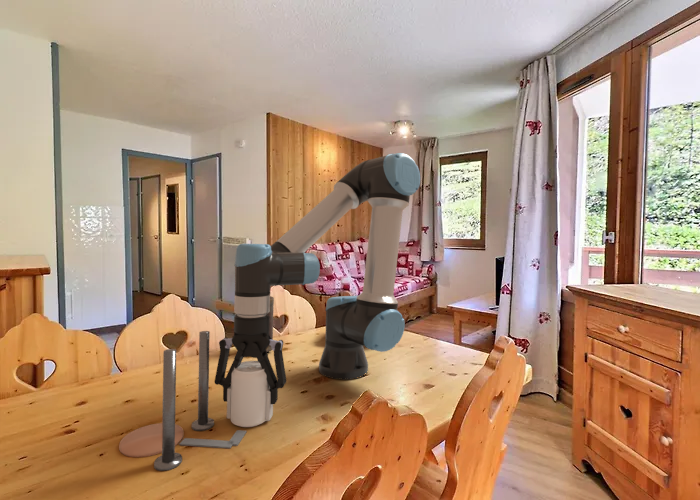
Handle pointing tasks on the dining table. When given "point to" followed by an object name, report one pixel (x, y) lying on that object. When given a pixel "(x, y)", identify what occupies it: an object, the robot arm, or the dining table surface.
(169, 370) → the gate posts
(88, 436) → the dining table surface
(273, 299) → the candle
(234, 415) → the beverage can
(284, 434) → the dining table surface
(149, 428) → the pad
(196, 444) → the strip
